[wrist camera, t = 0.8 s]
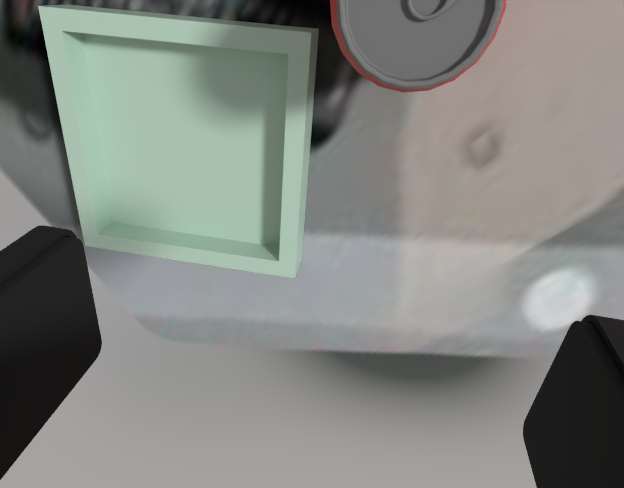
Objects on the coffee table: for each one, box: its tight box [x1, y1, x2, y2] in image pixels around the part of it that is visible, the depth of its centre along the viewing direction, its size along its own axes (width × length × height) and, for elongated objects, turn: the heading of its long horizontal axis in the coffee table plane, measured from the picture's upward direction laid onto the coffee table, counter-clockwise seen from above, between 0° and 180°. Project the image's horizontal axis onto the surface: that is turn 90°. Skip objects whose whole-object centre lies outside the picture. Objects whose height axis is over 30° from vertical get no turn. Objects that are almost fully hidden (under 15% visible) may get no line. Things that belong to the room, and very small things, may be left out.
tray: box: [38, 5, 319, 278], centre depth 31 cm, size 16×16×3 cm
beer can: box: [330, 0, 506, 92], centre depth 21 cm, size 7×7×12 cm
